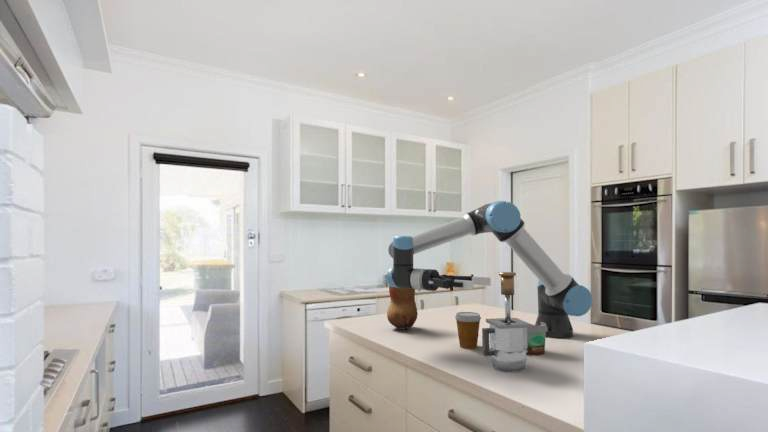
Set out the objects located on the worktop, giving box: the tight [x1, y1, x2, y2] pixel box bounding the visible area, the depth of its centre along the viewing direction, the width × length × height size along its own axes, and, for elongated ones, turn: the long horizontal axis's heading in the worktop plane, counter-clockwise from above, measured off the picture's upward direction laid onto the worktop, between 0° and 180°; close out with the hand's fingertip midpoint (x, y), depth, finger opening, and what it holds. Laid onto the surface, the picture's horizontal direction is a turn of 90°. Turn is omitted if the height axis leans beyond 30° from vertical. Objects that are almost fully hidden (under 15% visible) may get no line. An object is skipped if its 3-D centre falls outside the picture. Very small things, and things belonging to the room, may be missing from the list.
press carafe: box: [481, 317, 533, 373], centre depth 131 cm, size 13×10×14 cm
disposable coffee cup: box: [454, 311, 482, 350], centre depth 155 cm, size 10×10×12 cm
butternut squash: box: [386, 284, 418, 330], centre depth 185 cm, size 14×13×25 cm
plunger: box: [498, 271, 517, 323], centre depth 132 cm, size 8×8×18 cm
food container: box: [526, 322, 548, 357], centre depth 145 cm, size 12×6×10 cm, turn 118°
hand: (482, 283), depth 137 cm, fingers open, 13 cm apart
